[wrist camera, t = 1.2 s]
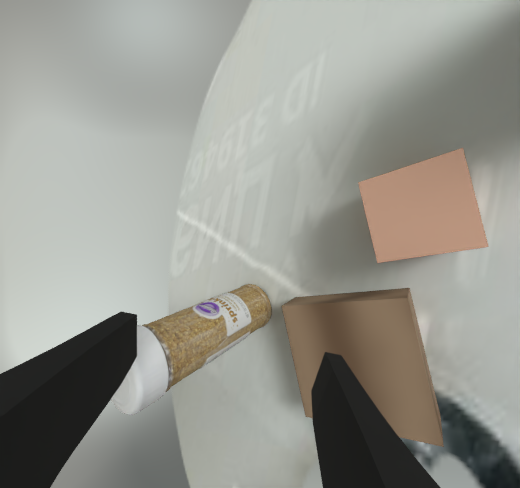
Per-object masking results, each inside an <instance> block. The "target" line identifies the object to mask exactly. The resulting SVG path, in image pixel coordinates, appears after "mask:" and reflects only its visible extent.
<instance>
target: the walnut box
mask: <svg viewBox="0 0 520 488" xmlns="http://www.w3.org/2000/svg"><path fill="white" fill-rule="evenodd" d="M282 310H283V315H284V319H285V324H286V328H287V333H288V337H289V342H290V347H291V351H292V356H293V360H294V365H295V369H296V374H297V379H298V383H299V388H300V392H301V397H302V401H303V406H304V410H305V415H306V417H310V418H313V416H312V396H311V390H312V387H313V384H314V382H315V379H316V376H317V373H318V370H319V367H320V365H321V362H322V359H323V356H324V353H325V352H328V353H333V354H338V355H341V356H342V357H343V359H344V360H345V361H346V363H347V364H348V366H349V367H350V369H351V370H352V372H353V373H354V375H355V376H356V378H357V379H358V381H359V382H360V384H361V385H362V387H363V388H364V390H365V391H366V393H367V394H368V395H369V397H370V398H371V400H372V401H373V403H374V404H375V405H376V407H377V408H378V410H379V411H380V412H381V414H382V415H383V416H384V418H385V419H386V421H387V422H388V423H389V425H390V426H391V427H392V429H393V430H394V431H395V433H396V434H397V435H398V436H399V437H401V438H406V439H410V440H415V441H419V442H424V443H429V444H433V445H438V446H442V447H443V437H442V426H441V417H440V413H439V409H438V404H437V400H436V396H435V392H434V388H433V384H432V380H431V375H430V371H429V367H428V363H427V359H426V355H425V351H424V346H423V342H422V338H421V334H420V330H419V326H418V322H417V317H416V313H415V309H414V305H413V301H412V297H411V293H410V288H403V289H391V290H379V291H367V292H355V293H343V294H331V295H319V296H307V297H295V298H294V299H292V300H291V301H289V302H287V303H286V304H284V305H283V306H282Z"/></svg>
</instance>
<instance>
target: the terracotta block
mask: <svg viewBox="0 0 520 488" xmlns="http://www.w3.org/2000/svg"><path fill="white" fill-rule="evenodd" d="M358 184H359V188H360V192H361V197H362V201H363V205H364V209H365V213H366V217H367V221H368V226H369V230H370V234H371V238H372V242H373V246H374V250H375V255H376V259H377V263H381V262H388V261H394V260H401V259H408V258H415V257H422V256H429V255H435V254H442V253H449V252H456V251H463V250H470V249H476V248H483V247H488V243H487V239H486V235H485V231H484V227H483V224H482V220H481V216H480V212H479V208H478V204H477V200H476V197H475V193H474V189H473V185H472V181H471V177H470V174H469V170H468V166H467V162H466V158H465V154H464V150H463V148H461V149H458V150H455V151H452V152H449V153H446V154H443V155H440V156H436V157H433V158H430V159H427V160H424V161H421V162H418V163H415V164H412V165H409V166H406V167H403V168H400V169H397V170H394V171H391V172H388V173H385V174H382V175H379V176H376V177H373V178H370V179H367V180H364V181H361V182H358Z"/></svg>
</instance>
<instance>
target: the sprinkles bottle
mask: <svg viewBox="0 0 520 488" xmlns="http://www.w3.org/2000/svg"><path fill="white" fill-rule="evenodd" d="M270 316H271V305H270V301H269V299H268V296H267V295H266V293H265V292H264V291H263V290H262V289H260V288H259V287H257V286H256V285H252V284H248V285H244V286H241V287H240V288H239V289H236V290H234V291H231V292H228V293H224V294H221V295H218V296H216V297H213V298H211V299H208V300H205V301H203V302H201V303H198V304H197V305H195V306H192V307H190V308H187V309H184V310H181V311H179V312H176V313H174V314H172V315H169V316H166V317H164V318H162V319H159V320H157V321H154V322H151V323H149V324H144V325H142V326H141V325H137V357H136V359H135V361H134V363H133V364H132V366H131V368H130V370H129V372H128V373H127V375H126V377H125V379H124V380H123V382H122V384H121V385H120V387H119V388H118V390H117V391H116V392H115V394H114V395H113V397H112V398H111V400H112V402H113V403H114V405H115V406H116V407H117V408H118V409H119V410H120V411H121V412H123V413H124V414H127V415H133V414H136V413H138V412H139V411H141V410H143V409H144V408H145V407H147V406H149V405H150V404H152V403H153V402H155V401H156V400H158V399H159V398H161V397H162V396H163V394H164V393H165V392H167V391H168V390H169V389H170V387H171V386H173V385H175V384H176V383H177V382H179V381H181V380H182V379H183V378H185V377H187V376H188V375H190V374H191V373H193V372H194V371H196V370H198V369H200V368H202V367H204V366H205V365H207V364H208V363H210V362H211V361H213V360H214V359H216V358H217V357H218V356H220V355H221V354H223V353H224V352H226V351H227V350H229V349H230V348H232V347H233V346H235V345H236V344H237V343H239V342H240V341H242V340H243V339H245V338H246V337H247V336H248V335H249V334H250V333H252V332H254V331H255V330H257V329H258V328H261V327H263V326H265V325H266V324H267V322H268V321H269V319H270Z"/></svg>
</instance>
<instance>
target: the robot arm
mask: <svg viewBox="0 0 520 488" xmlns="http://www.w3.org/2000/svg"><path fill="white" fill-rule="evenodd" d="M136 357H137V315H135V314H131V313H125V312H120V313H118V314H116V315H114V316H112V317H110V318H108V319H106V320H104V321H103V322H101V323H99V324H97V325H95V326H93V327H92V328H90V329H88V330H86V331H85V332H83V333H81V334H79V335H77V336H75V337H73V338H71V339H70V340H67V341H66V342H64V343H62V344H60V345H58V346H56V347H54V348H52V349H50V350H48V351H46V352H44V353H42V354H40V355H38V356H36V357H34V358H33V359H30V360H28V361H26V362H24V363H22V364H20V365H18V366H16V367H14V368H12V369H10V370H8V371H6V372H3V373H2V374H0V488H50V487H51V485H52V483H53V482H54V480H55V479H56V477H57V475H58V474H59V472H60V471H61V469H62V467H63V466H64V464H65V463H66V461H67V460H68V459H69V457H70V456H71V454H72V453H73V451H74V450H75V448H76V447H77V446H78V444H79V443H80V441H81V440H82V439H83V437H84V436H85V434H86V433H87V432H88V430H89V429H90V428H91V426H92V425H93V423H94V422H95V421H96V419H97V418H98V416H99V415H100V413H101V412H102V411H103V409H104V408H105V407H106V405H107V404H108V402H109V401H110V399H111V398H112V397H113V395H114V394H115V392H116V391H117V390H118V388H119V387H120V385H121V384H122V382H123V380H124V379H125V377H126V375H127V373H128V372H129V370H130V368H131V366H132V364H133V363H134V361H135V359H136ZM311 396H312V416H313V426H314V433H315V439H316V446H317V452H318V459H319V465H320V471H321V477H322V484H323V488H440V487H439V486H438V485H437V483H436V482H435V481H434V480H433V479H432V477H431V476H430V475H429V474H428V473H427V471H426V470H425V469H424V468H423V467H422V465H421V464H420V463H419V462H418V461H417V459H416V458H415V457H414V456H413V454H412V453H411V452H410V451H409V449H408V448H407V447H406V445H405V444H404V443H403V442H402V440H401V439H400V438H399V436H398V435H397V434H396V433H395V431H394V430H393V429H392V427H391V426H390V425H389V423H388V422H387V421H386V419H385V418H384V416H383V415H382V414H381V412H380V411H379V410H378V408H377V407H376V405H375V404H374V403H373V401H372V400H371V398H370V397H369V395H368V394H367V393H366V391H365V390H364V388H363V387H362V385H361V384H360V382H359V381H358V379H357V378H356V376H355V375H354V373H353V372H352V370H351V369H350V367H349V366H348V364H347V363H346V361H345V360H344V359H343V357H342V356H341V355H338V354H333V353H328V352H325V353H324V356H323V359H322V362H321V365H320V367H319V370H318V373H317V376H316V379H315V382H314V384H313V387H312V390H311Z"/></svg>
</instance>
